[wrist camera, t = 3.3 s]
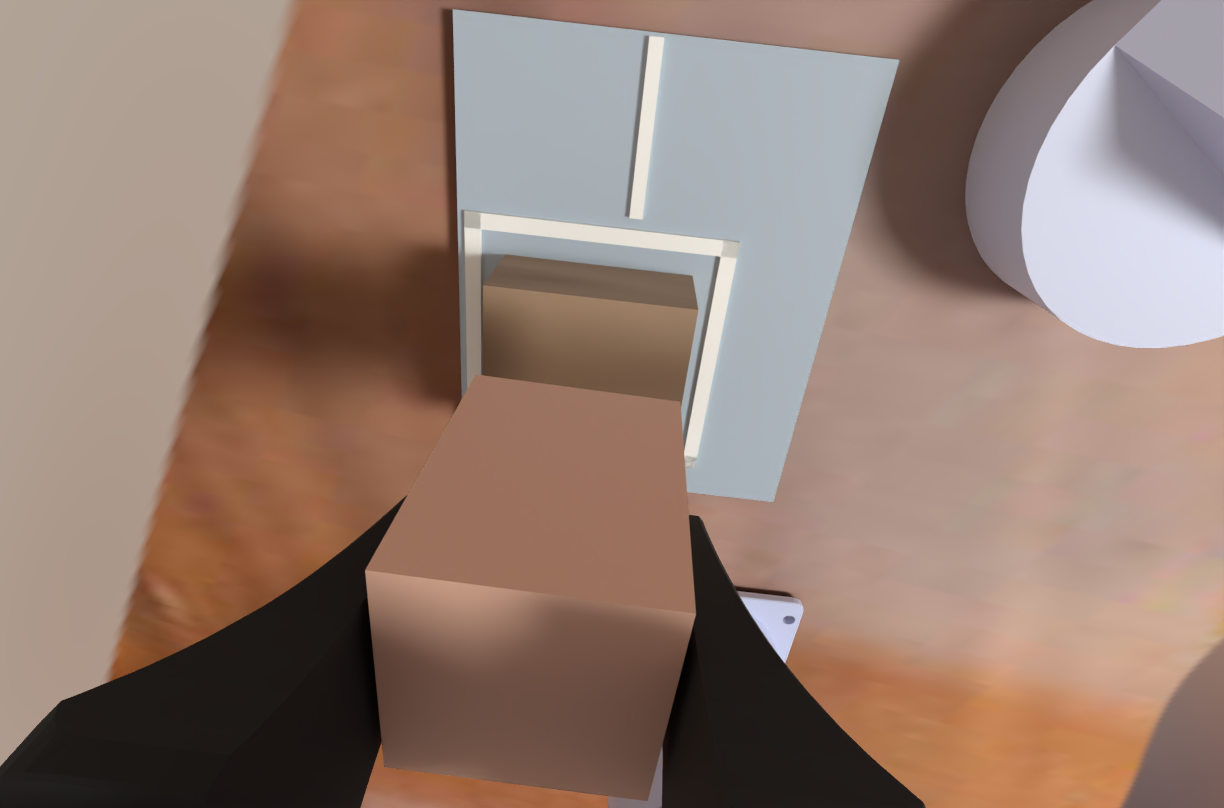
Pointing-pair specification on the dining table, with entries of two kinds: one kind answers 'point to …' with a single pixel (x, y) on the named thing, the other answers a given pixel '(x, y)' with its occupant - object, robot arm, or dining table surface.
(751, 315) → the board
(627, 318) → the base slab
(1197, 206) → the wedge on round base
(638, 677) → the column block
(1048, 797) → the dining table surface
